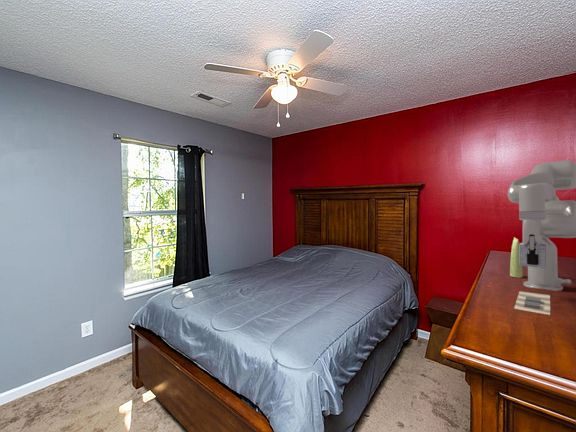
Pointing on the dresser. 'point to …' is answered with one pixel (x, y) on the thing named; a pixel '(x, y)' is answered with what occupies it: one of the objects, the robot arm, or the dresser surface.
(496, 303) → the dresser surface
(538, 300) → the graphite tile
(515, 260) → the tube
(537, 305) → the graphite tile
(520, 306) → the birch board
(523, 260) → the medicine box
